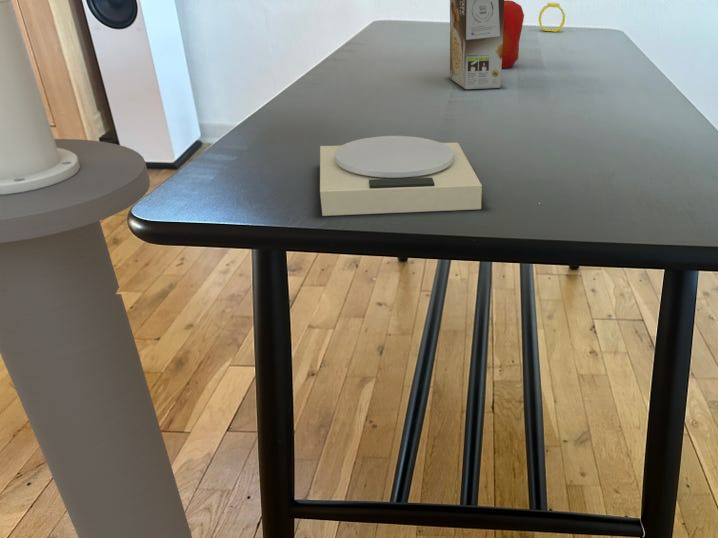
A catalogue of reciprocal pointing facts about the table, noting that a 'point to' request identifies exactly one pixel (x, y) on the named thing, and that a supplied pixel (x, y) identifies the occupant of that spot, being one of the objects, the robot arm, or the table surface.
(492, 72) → the coffee box
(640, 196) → the table surface
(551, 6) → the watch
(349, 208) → the scale
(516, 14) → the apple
